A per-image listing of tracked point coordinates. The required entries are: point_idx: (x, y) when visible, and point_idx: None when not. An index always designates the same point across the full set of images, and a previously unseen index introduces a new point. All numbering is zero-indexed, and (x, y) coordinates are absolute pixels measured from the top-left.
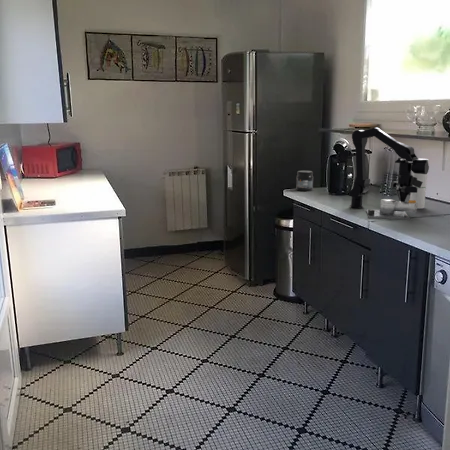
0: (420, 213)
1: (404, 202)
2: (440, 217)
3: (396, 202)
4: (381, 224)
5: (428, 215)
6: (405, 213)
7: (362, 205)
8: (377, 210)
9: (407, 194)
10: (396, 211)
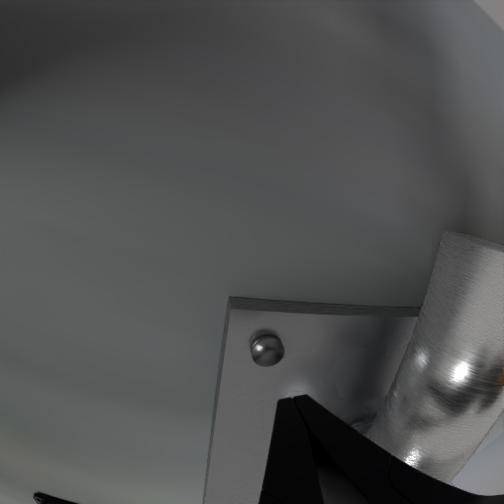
0: (273, 84)
1: (495, 422)
2: (450, 6)
3: (450, 481)
4: (499, 430)
5: (386, 50)
6: (396, 325)
7: (39, 498)
8: (236, 498)
9: (475, 498)
10: (284, 395)
